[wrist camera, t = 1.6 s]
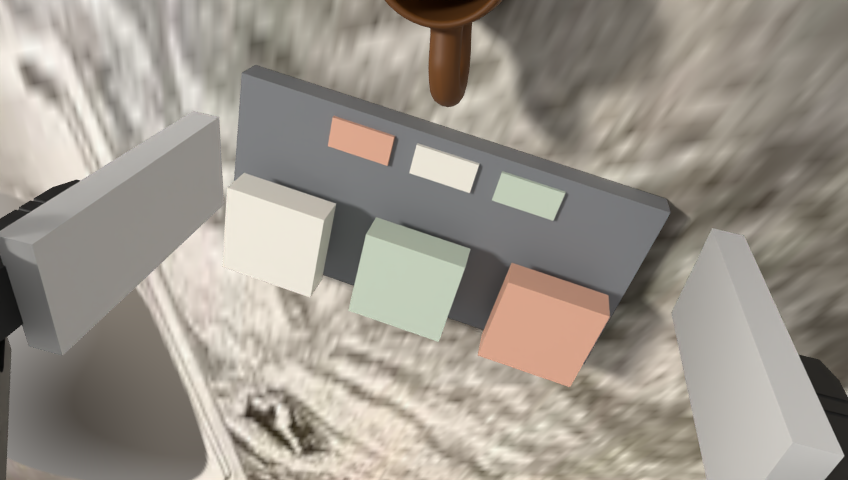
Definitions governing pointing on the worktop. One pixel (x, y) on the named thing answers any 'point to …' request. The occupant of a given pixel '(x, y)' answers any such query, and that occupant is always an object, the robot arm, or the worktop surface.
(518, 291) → the terracotta key
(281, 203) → the cream key
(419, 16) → the mug
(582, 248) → the keypad board
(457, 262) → the sage key
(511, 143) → the worktop surface
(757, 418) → the robot arm
